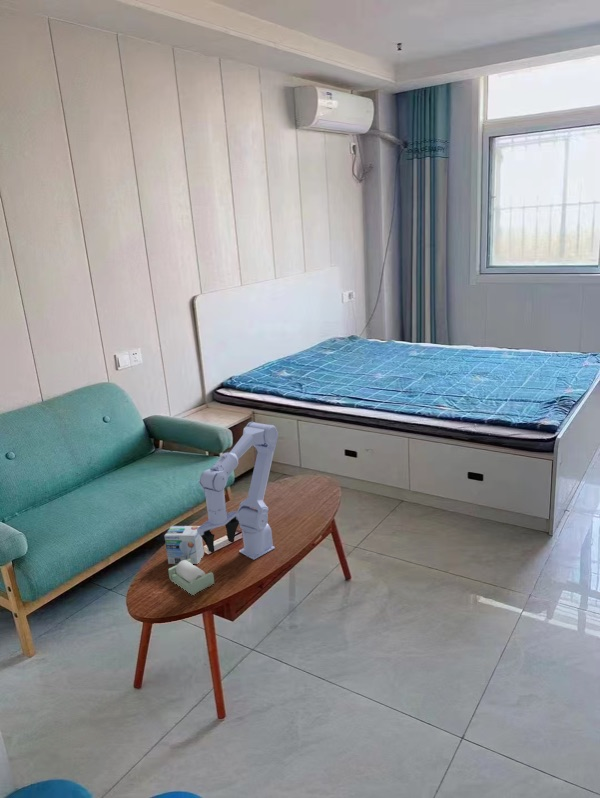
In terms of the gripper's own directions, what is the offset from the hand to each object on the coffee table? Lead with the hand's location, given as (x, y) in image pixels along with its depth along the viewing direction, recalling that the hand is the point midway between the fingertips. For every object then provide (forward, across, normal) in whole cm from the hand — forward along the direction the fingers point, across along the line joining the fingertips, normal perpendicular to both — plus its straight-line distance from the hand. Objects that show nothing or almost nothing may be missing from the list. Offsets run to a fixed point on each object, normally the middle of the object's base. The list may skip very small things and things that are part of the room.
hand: (221, 546), depth 183 cm
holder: (+10, +10, -4) cm, 14 cm away
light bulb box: (+10, +3, -18) cm, 20 cm away
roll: (+7, +10, -4) cm, 12 cm away
